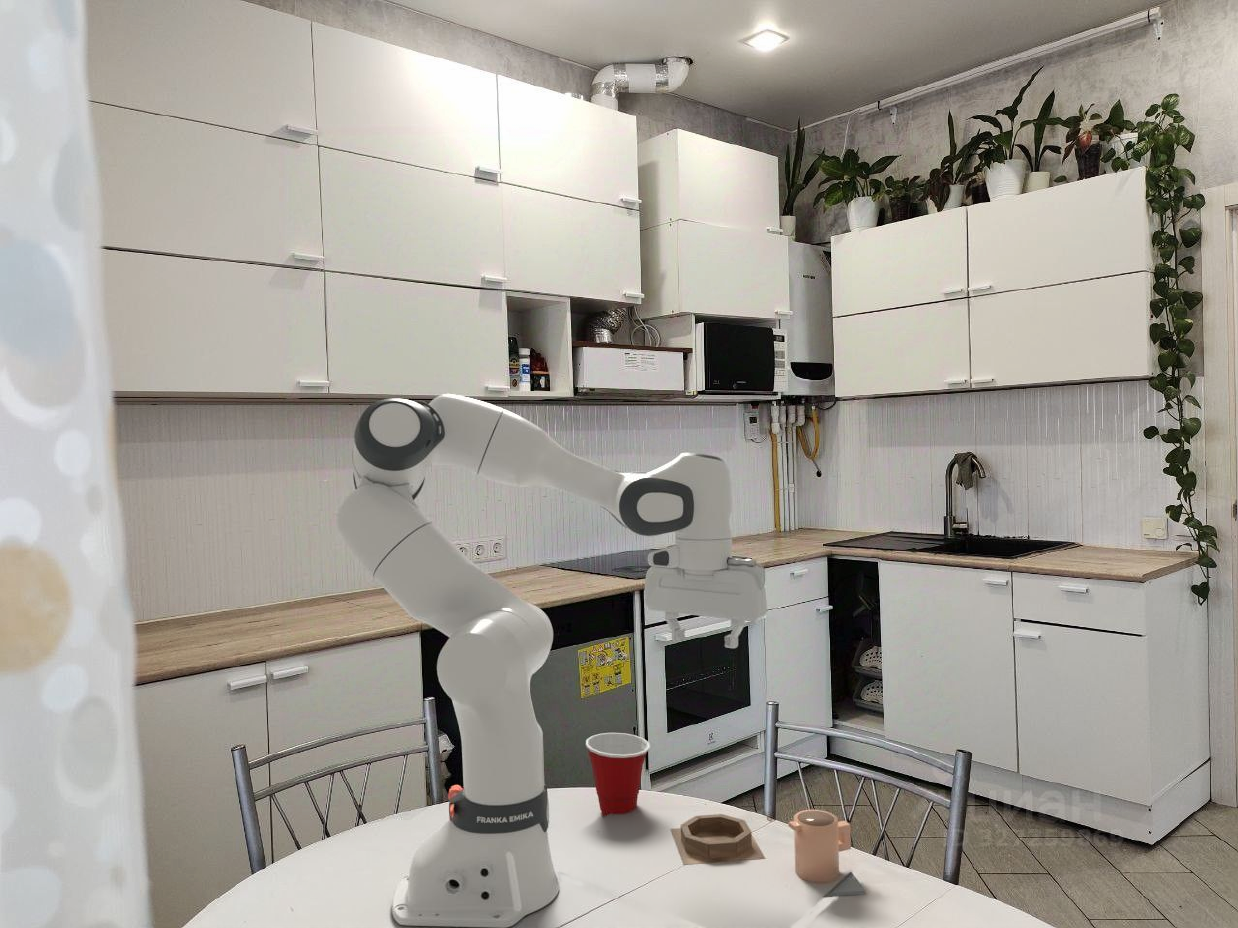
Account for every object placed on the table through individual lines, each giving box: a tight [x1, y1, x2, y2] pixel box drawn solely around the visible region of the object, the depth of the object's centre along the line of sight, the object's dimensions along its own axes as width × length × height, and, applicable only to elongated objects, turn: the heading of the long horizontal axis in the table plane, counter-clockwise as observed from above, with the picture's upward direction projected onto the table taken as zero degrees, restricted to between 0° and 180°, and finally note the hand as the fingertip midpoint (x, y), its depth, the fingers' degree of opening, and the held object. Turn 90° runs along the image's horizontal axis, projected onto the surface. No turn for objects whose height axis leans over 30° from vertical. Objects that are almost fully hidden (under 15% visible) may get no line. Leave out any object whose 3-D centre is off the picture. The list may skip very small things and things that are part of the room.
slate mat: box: [823, 871, 866, 898], centre depth 122 cm, size 10×10×1 cm
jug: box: [788, 809, 852, 884], centre depth 122 cm, size 9×6×8 cm, turn 111°
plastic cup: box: [585, 732, 651, 817], centre depth 146 cm, size 11×11×12 cm
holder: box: [670, 813, 766, 866], centre depth 132 cm, size 12×12×3 cm
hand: (704, 643), depth 137 cm, fingers open, 8 cm apart
